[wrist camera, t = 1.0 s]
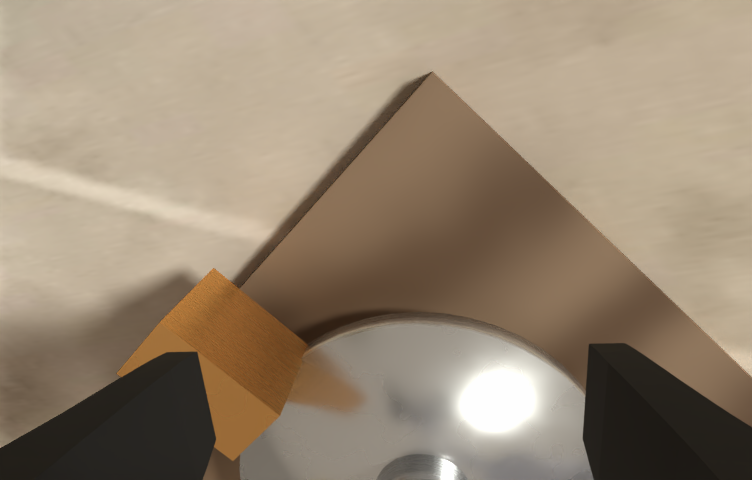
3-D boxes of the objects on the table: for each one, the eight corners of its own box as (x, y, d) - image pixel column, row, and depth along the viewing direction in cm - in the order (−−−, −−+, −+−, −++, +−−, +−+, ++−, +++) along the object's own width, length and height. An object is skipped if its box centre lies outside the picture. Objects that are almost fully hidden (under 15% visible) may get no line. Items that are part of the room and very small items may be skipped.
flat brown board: (802, 426, 21) (838, 462, 20) (419, 669, 28) (418, 713, 26) (432, 71, 18) (432, 74, 16) (103, 440, 25) (77, 472, 23)
